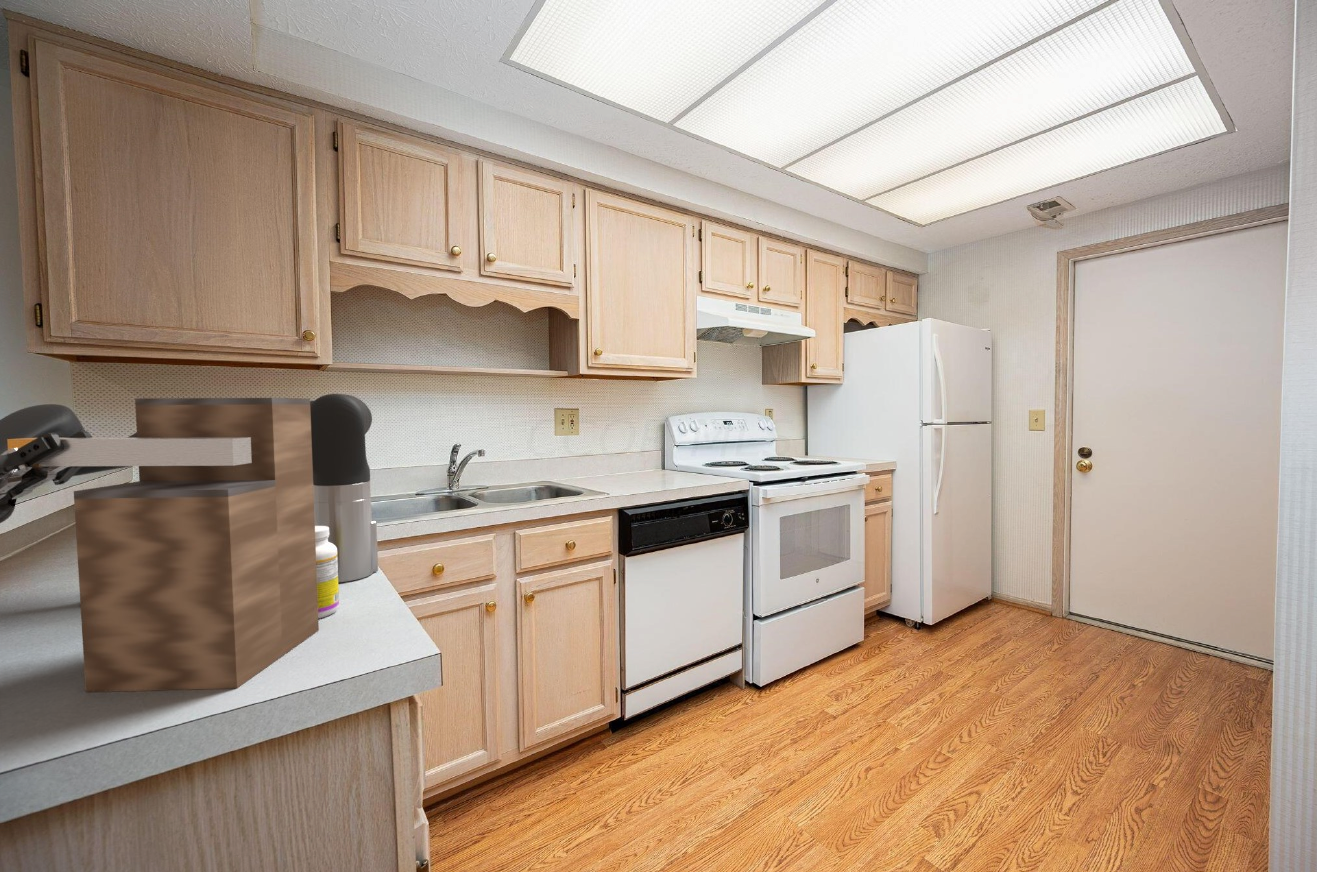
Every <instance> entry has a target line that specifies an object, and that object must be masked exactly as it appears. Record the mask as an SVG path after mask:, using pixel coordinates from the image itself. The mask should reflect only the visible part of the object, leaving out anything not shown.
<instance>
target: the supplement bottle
mask: <svg viewBox="0 0 1317 872" xmlns="http://www.w3.org/2000/svg"><path fill="white" fill-rule="evenodd" d="M328 537H329V527H327V526H315V544H316V570H317V596H318V620H319V619H323V618H326V617H328V616H331V615H332V614H334V613H335V612H337V611H338V610H339V607H340V595H339V594H340V593H339V582H338V558H337V548H336V546H335V545H334V544H332V543H330V542H328Z"/></svg>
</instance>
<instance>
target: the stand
mask: <svg viewBox="0 0 1317 872" xmlns="http://www.w3.org/2000/svg"><path fill="white" fill-rule="evenodd" d="M310 401H311V398H298V397H297V398H296V397H294V398H293V397H289V398H288V397H286V398H285V397H203V398H202V397H197V398H196V397H195V398H194V397H191V398H190V397H185V398H182V397H180V398H179V397H178V398H177V397H175V398H174V397H173V398H172V397H171V398H169V397H167V398H164V397H163V398H161V397H159V398H157V397H156V398H155V397H153V398H152V397H151V398H144V397H143V398H135V399H134V404H135V407H134V409H135V422H136V423H135V424H136V432H137V438H183V437H251V459H252V463H247V464H240V465H234V466H138V477H139V479H138V480H139V481H134V482H133V481H132V482H126V483H120V484H119V483H118V484H114V485H108V486H107V485H106V486H100V487H93V488H87V489H79V490H73V502H74V503H73V505H74V517H75V518H74V519H75V534H76V535H75V536H76V550H77V570H78V571H77V572H78V585H79V588H78V589H79V601H80V602H79V603H80V619H81V621H80V622H81V633H82V634H81V636H82V651H83V654H82V655H83V666H84V667H83V668H84V684H85V685H84V686H85V693H98V692H99V693H100V692H101V693H103V692H105V693H106V692H135V691H136V692H138V691H139V692H142V691H144V692H145V691H177V690H179V691H181V690H218V689H219V690H220V689H222V690H223V689H238V688H240V687H241V686H242V685H244V684H246V682H249V680H251V679H252V678H254V677H255V676H256V675H258V674H259V673H261V672H262V671H263V670H265V669H266V668H268V667H269V666H271V665H272V664H274V663H275V662H277V661H278V660H279V659H280V658H282V657H283V656H285V655H287V654H288V653H289V652H291V651H292V650H294V649H295V648H297V647H298V646H300V644H302V643H304V641H306V640H308V639H309V638H310V637H313V635H314V634H316V633H318V632H319V630H320V629H319V628H320V627H319V624H320V623H319V619H318V596H317V570H316V544H315V518H314V491H313V465H312V439H311V412H310Z"/></svg>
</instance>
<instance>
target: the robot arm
mask: <svg viewBox="0 0 1317 872" xmlns="http://www.w3.org/2000/svg"><path fill="white" fill-rule="evenodd" d="M310 412H311V439H312V465H313V491H314V518H315V526H327V527H329V537H328V542H330V543H332V544H334V545H335V546H336V548H337V558H338V583H345V582H351V581H355V580H360V579H364V578H366V577H368V576H370V575H372V574H374V573H375V572H378V571H379V558H378V557H379V556H378V553H379V552H378V530H377V528H378V526H377V521H376V520H373V518H372V497H371V495H372V493H371V468H370V465H369V464H368V459H367V453H366V452H367V450H366V449H367V447H366V434H367V433H368V432H369V430H370V429H371V426H372V422H373V414H372V412H371V409H370V408H369V407H368V405H367V403H365V402H364V401H363V400H361V399H359V398H358V397H356V396H354V395H351V394H345V393H343V394H342V393H328V394H324V395H321V396H320V397H318V398H316V399H314V400H310ZM22 438H36V439H35V440H33V441H31V442H29V443H28V444H26V445H24V446H22V447H21V448H13V449H9V450H8V442H7V439H22ZM60 438H94V437H93V436H92V434H91V432H90V431H86V430H85V427H84V426H83V424H82V423H81V421H80V419H79V418H78V416H77V414H76V413H74V411H73V410H72V409H71V408H70V407H68V406H66V405H62V404H56V403H55V404H54V403H52V404H51V403H49V404H46V403H45V404H38V405H37V404H36V405H32V406H28V407H24V408H22V409H19V410H16V411H14V412H11V413H9V414H7V415H6V416H4V417H3V418H1V419H0V524H1V523H3V522H5V521H6V520H8V519H9V518H10V517H11V516H12V514H13V513H14V511H15V509H16V504H17V500H18V499H19V498H20V499H21V498H22V497H25V496H27V495H29V494H31V493H32V492H33V490H35V489H37V488H39V487H40V486H43V485H45V483H48V482H51V481H52V483H53V484H54V485H55V486H58V485H64V484H65V483H68V481H70V480H71V478H73V477H77V476H83V475H89V474H96V473H101V472H105V471H106V472H107V471H111V470H118V469H123V468H129V467H132V466H41V467H32V466H33V465H38V464H40V463H42V462H43V461H45V460H47V459H49V458H50V457H52V456H54V455H56V454H57V453H59V452H61V451H62V450H64V444H63V442H62V441H61V439H60ZM126 438H137V431H136V432H135V433H133V434H131V435H129V436H128V437H126Z"/></svg>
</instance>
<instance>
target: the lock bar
mask: <svg viewBox="0 0 1317 872" xmlns="http://www.w3.org/2000/svg"><path fill="white" fill-rule="evenodd" d="M35 439H36V438H22V439H7V442H8V450H9V449H13V448H21V447H22V446H24V445H26V444H28V443H29V442H31V441H33V440H35ZM60 439H61V441H62V442H63V444H64V450H62V451H61V452H59V453H57V454H56V455H54V456H52V457H50V458H49V459H47V460H45V461H43V462H42V463H40V464H38V465H33V466H32V467H41V466H131V467H139V466H234V465H240V464H247V463H252V459H251V437H183V438H127V437H93V438H60Z"/></svg>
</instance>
